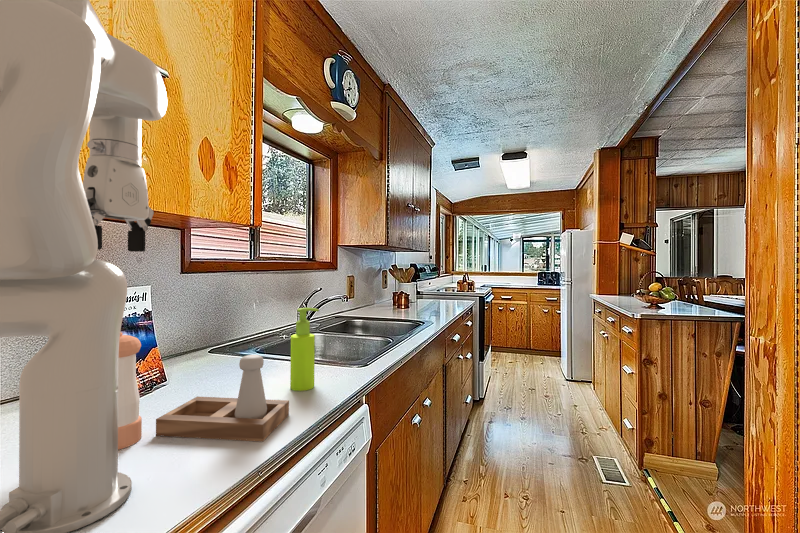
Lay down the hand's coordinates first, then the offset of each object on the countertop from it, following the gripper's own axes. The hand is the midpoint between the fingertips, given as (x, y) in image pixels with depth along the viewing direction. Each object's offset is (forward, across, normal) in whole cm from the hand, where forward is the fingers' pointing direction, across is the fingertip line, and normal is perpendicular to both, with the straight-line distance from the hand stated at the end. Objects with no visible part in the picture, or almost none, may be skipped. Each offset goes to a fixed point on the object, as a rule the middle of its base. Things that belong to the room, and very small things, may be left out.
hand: (115, 250), depth 70 cm
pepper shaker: (+34, -3, -3) cm, 34 cm away
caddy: (+33, +6, -18) cm, 38 cm away
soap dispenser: (+34, +30, -25) cm, 51 cm away
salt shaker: (+33, +6, -23) cm, 41 cm away
